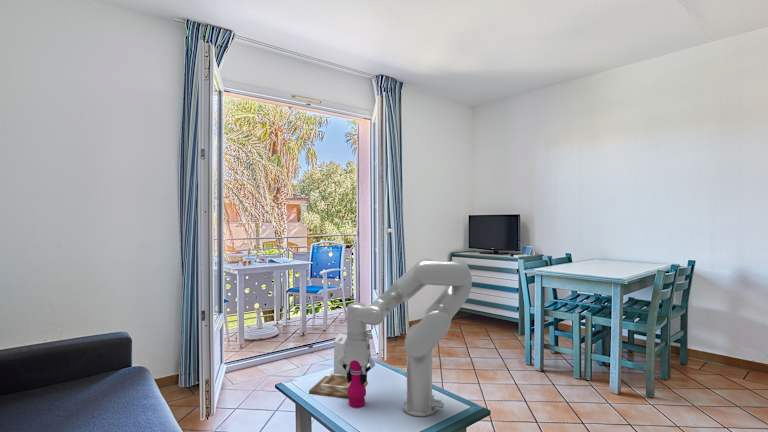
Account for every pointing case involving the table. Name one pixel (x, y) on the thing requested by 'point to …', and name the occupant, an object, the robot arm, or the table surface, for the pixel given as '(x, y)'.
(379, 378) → the table surface
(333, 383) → the stand
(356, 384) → the pepper mill
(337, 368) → the milk carton
